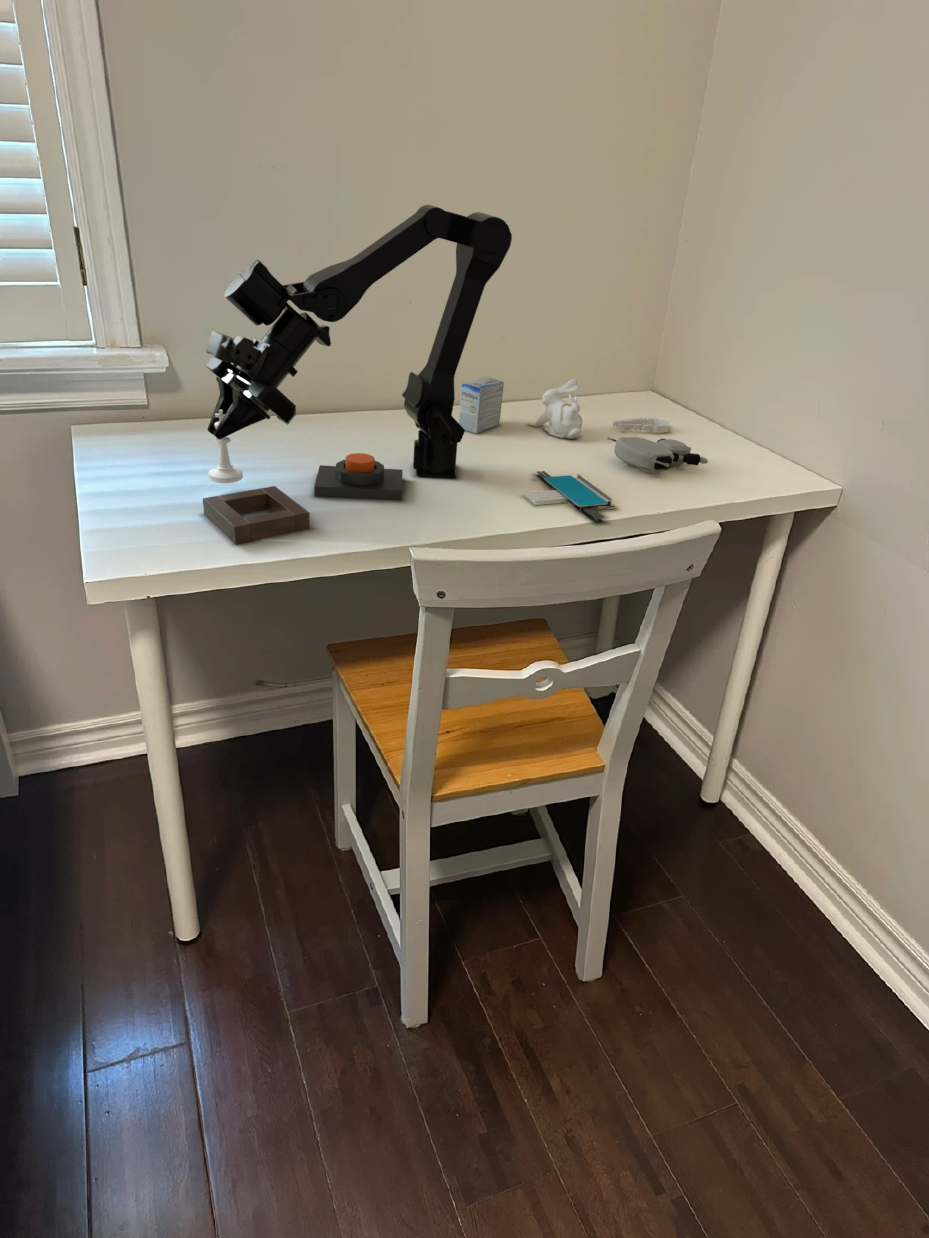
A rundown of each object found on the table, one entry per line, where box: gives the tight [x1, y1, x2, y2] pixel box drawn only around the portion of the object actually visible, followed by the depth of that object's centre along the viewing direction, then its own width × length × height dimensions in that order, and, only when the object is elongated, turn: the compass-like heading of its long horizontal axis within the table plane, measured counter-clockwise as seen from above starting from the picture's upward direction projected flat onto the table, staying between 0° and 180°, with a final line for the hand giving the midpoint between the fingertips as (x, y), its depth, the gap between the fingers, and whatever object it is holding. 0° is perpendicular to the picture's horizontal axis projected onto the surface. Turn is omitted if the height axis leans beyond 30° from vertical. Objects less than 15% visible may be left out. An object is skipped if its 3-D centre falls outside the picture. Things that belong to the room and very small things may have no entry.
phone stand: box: [524, 470, 616, 524], centre depth 135 cm, size 20×12×2 cm, turn 22°
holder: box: [202, 485, 311, 545], centre depth 118 cm, size 11×11×2 cm
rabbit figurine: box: [529, 378, 584, 440], centre depth 163 cm, size 12×8×10 cm, turn 32°
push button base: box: [313, 458, 403, 502], centre depth 132 cm, size 13×9×4 cm
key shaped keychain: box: [612, 416, 670, 434], centre depth 170 cm, size 13×5×2 cm, turn 114°
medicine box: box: [458, 376, 505, 434], centre depth 162 cm, size 8×4×9 cm, turn 144°
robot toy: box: [606, 436, 709, 475], centre depth 151 cm, size 12×4×15 cm
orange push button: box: [345, 452, 376, 473], centre depth 131 cm, size 4×4×2 cm
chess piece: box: [207, 409, 244, 484], centre depth 123 cm, size 5×5×10 cm
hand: (213, 435), depth 122 cm, fingers closed on chess piece
